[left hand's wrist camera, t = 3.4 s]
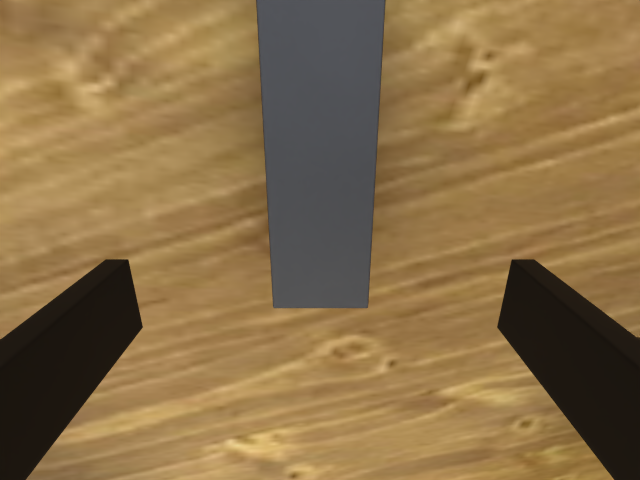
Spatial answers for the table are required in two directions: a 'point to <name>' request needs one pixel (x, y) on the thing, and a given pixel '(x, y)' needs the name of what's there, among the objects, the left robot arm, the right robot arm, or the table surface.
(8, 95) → the table surface
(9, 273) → the table surface
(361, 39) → the post
